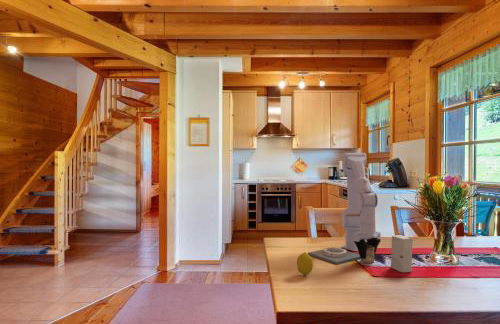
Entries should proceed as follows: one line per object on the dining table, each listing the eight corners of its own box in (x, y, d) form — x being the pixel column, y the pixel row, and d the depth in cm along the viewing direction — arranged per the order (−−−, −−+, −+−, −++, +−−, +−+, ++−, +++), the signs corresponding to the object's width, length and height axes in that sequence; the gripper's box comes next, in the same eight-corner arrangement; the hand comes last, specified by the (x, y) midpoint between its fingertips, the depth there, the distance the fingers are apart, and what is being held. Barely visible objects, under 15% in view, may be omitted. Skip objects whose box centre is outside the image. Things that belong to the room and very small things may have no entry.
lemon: (303, 279, 105) (303, 255, 105) (293, 274, 110) (293, 251, 110) (316, 276, 108) (316, 253, 108) (306, 272, 113) (306, 249, 113)
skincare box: (390, 267, 118) (390, 235, 118) (400, 266, 119) (400, 234, 119) (402, 273, 112) (402, 238, 112) (413, 272, 113) (412, 238, 113)
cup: (365, 259, 129) (365, 244, 129) (377, 262, 124) (377, 247, 125) (357, 261, 126) (357, 246, 126) (369, 264, 121) (369, 249, 122)
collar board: (333, 249, 143) (333, 243, 144) (363, 258, 130) (363, 252, 130) (307, 254, 135) (307, 249, 135) (337, 264, 121) (337, 258, 121)
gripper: (364, 226, 118) (364, 263, 118) (387, 222, 126) (387, 256, 126) (349, 223, 124) (349, 258, 124) (371, 220, 132) (371, 252, 132)
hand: (367, 257), depth 125 cm, fingers closed on cup, 5 cm apart
